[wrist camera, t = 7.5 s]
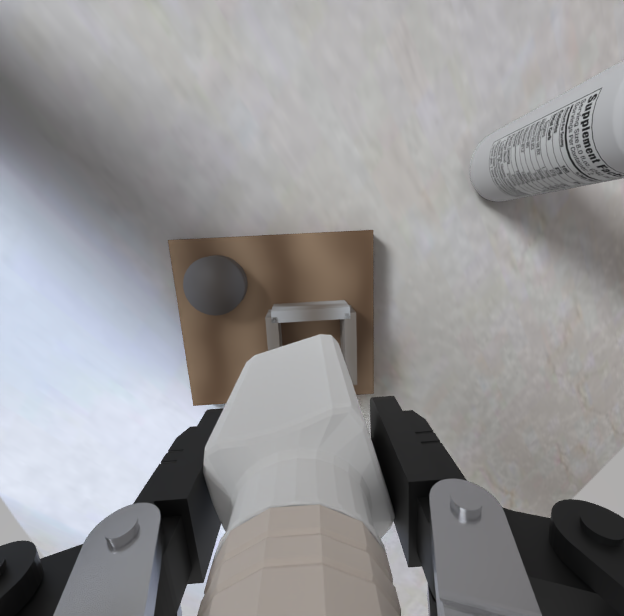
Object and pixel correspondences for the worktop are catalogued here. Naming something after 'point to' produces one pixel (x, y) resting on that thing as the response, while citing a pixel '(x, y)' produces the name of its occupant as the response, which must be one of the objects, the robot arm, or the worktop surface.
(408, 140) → the worktop surface
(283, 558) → the salt shaker
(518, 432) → the worktop surface
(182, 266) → the carrier board
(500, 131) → the energy drink can
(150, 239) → the worktop surface
